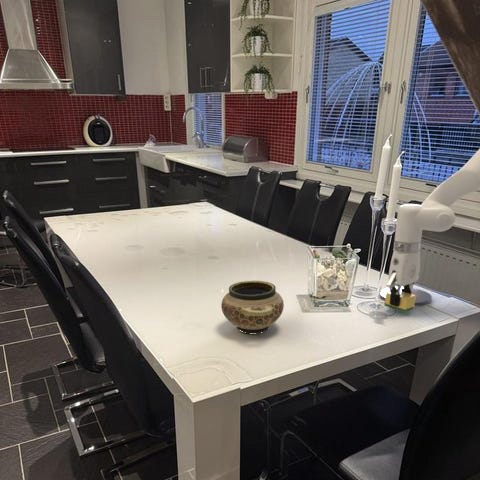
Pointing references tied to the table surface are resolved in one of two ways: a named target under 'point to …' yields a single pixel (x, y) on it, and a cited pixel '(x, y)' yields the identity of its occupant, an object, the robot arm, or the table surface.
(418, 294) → the plate
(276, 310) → the ceramic bowl
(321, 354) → the table surface
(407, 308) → the sponge
